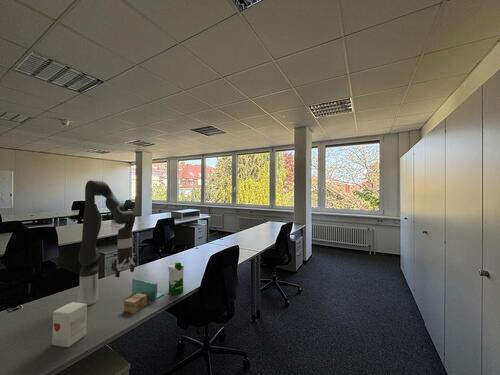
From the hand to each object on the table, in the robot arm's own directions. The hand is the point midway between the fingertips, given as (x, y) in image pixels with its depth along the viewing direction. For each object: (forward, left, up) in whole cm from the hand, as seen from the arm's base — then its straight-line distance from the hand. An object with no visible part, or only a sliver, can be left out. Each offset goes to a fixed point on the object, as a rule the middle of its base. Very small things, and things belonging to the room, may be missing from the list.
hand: (125, 274), depth 124 cm
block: (+6, -2, -21) cm, 22 cm away
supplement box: (-26, +2, -21) cm, 34 cm away
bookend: (+21, +4, -21) cm, 30 cm away
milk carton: (+31, -10, -21) cm, 39 cm away
